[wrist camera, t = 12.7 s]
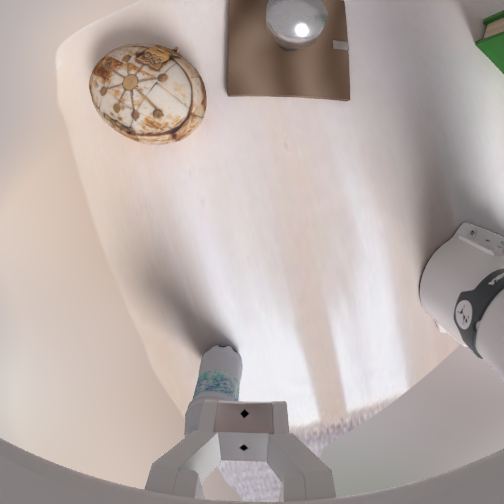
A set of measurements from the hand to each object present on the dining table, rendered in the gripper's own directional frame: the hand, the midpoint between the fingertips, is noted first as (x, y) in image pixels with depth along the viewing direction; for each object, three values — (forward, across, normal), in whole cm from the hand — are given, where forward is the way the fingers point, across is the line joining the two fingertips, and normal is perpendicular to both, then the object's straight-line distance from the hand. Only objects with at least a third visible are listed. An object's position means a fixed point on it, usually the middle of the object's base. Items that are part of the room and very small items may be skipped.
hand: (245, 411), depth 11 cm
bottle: (+31, +5, +21) cm, 38 cm away
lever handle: (+25, -4, -27) cm, 37 cm away
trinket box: (+32, +13, -17) cm, 38 cm away
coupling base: (+31, -4, -24) cm, 39 cm away
